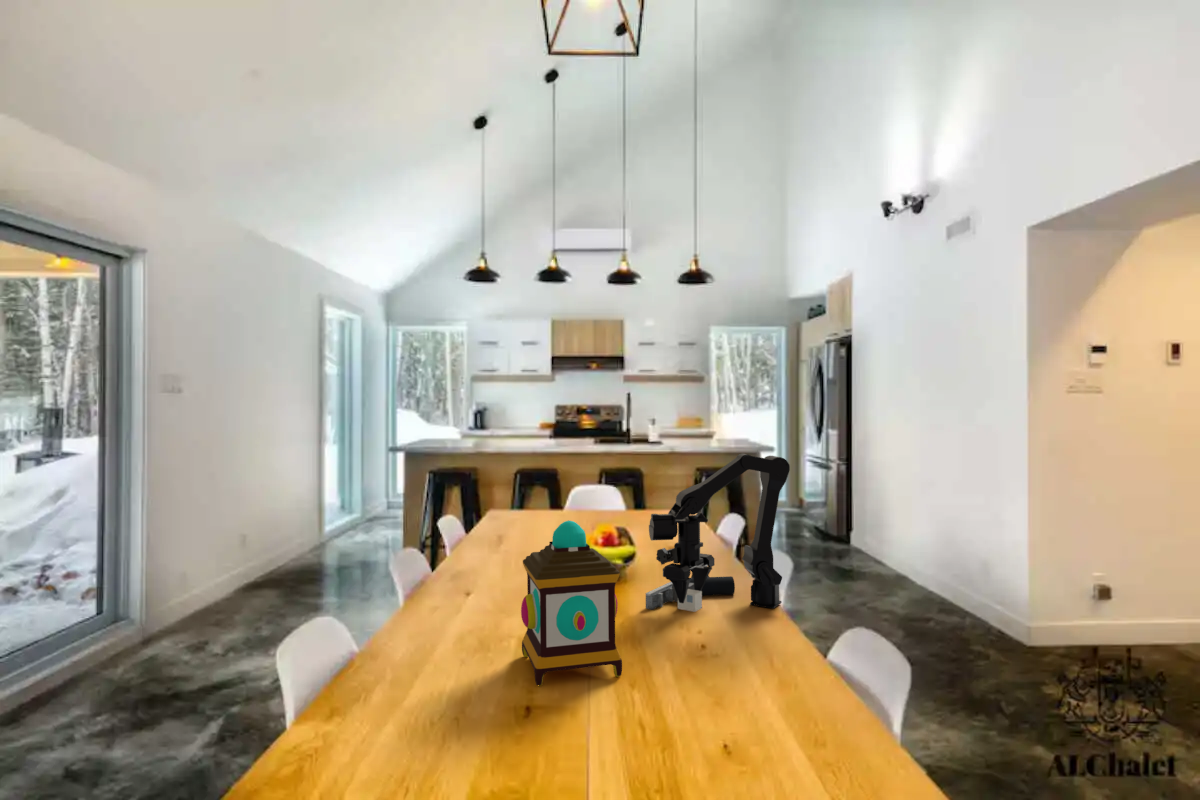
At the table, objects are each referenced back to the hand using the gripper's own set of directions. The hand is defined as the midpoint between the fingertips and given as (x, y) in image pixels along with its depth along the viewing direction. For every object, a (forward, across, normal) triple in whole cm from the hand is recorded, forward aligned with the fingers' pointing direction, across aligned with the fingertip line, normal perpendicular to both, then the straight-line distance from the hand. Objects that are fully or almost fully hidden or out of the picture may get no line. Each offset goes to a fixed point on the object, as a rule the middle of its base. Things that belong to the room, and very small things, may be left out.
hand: (689, 598), depth 181 cm
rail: (+2, 0, -8) cm, 9 cm away
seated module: (+3, -6, -5) cm, 8 cm away
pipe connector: (+3, -17, -4) cm, 17 cm away
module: (+3, 0, 0) cm, 3 cm away
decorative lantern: (+3, +49, -2) cm, 49 cm away
